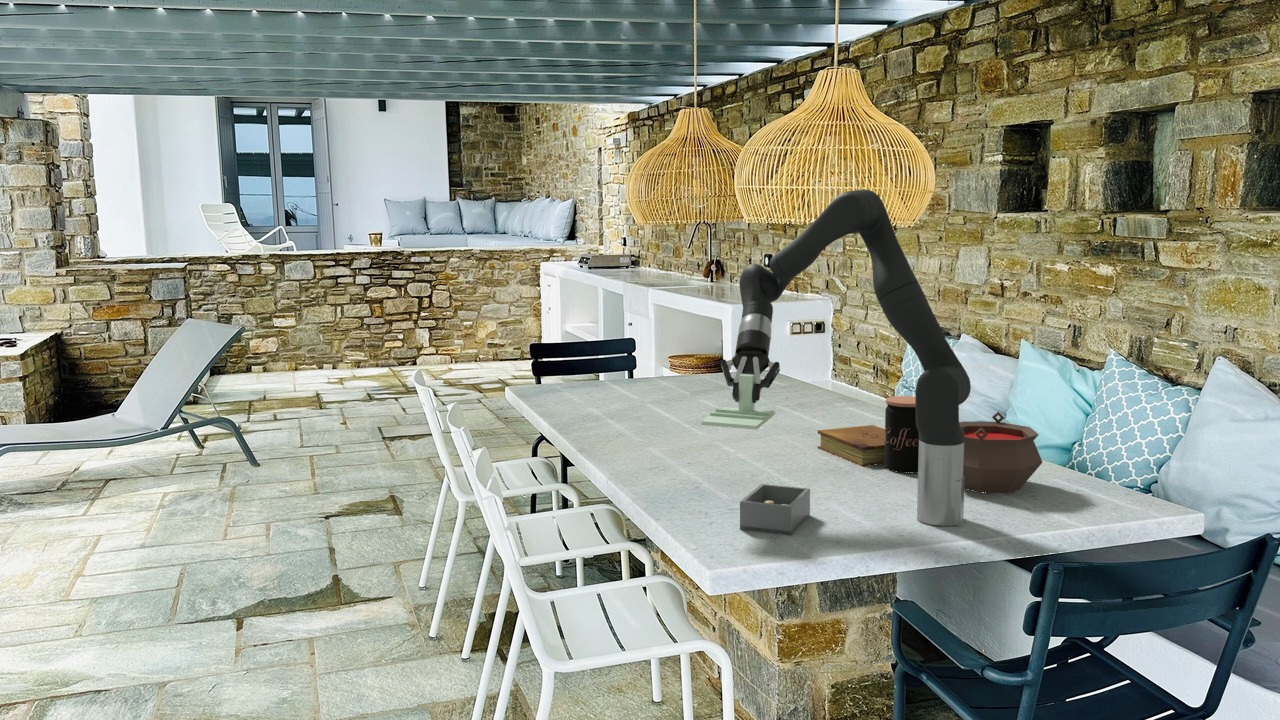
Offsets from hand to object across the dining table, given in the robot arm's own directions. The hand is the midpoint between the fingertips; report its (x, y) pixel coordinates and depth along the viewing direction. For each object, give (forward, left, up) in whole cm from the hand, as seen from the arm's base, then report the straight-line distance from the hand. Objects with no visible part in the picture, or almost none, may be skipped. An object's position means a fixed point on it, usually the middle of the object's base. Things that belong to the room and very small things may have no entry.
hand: (745, 400), depth 222 cm
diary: (-15, -62, -25) cm, 69 cm away
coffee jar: (-27, -49, -25) cm, 62 cm away
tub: (-9, +7, -25) cm, 27 cm away
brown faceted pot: (-48, -39, -25) cm, 67 cm away
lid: (0, +4, -4) cm, 5 cm away
